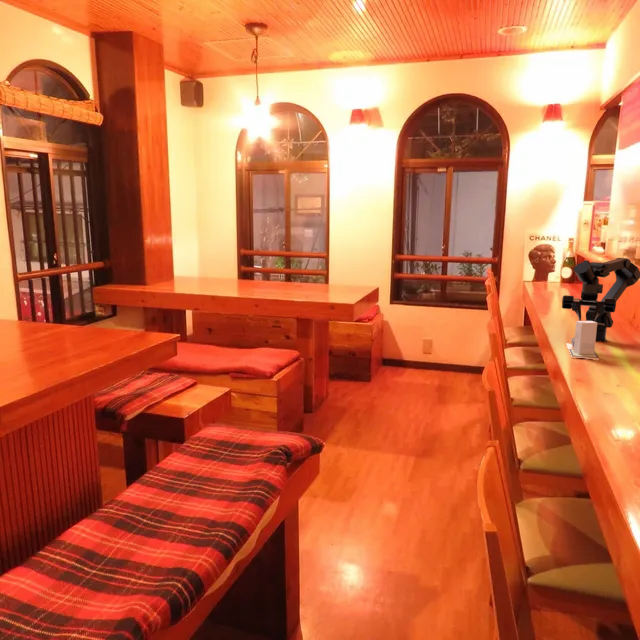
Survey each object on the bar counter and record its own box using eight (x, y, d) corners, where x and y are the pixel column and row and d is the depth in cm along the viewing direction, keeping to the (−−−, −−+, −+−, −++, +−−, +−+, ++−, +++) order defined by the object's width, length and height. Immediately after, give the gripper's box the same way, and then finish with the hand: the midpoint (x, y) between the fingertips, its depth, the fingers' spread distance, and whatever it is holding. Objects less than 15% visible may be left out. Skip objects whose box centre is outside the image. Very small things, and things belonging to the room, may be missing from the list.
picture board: (565, 345, 218) (566, 337, 218) (590, 347, 216) (591, 339, 215) (571, 358, 200) (572, 349, 199) (598, 360, 197) (599, 351, 196)
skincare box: (587, 351, 206) (591, 320, 203) (594, 354, 201) (598, 322, 199) (572, 351, 205) (575, 320, 202) (579, 355, 201) (582, 322, 198)
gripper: (564, 274, 213) (560, 307, 206) (618, 277, 205) (616, 311, 197) (564, 292, 222) (559, 323, 214) (615, 295, 213) (613, 328, 206)
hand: (586, 321), depth 208 cm, fingers open, 4 cm apart
